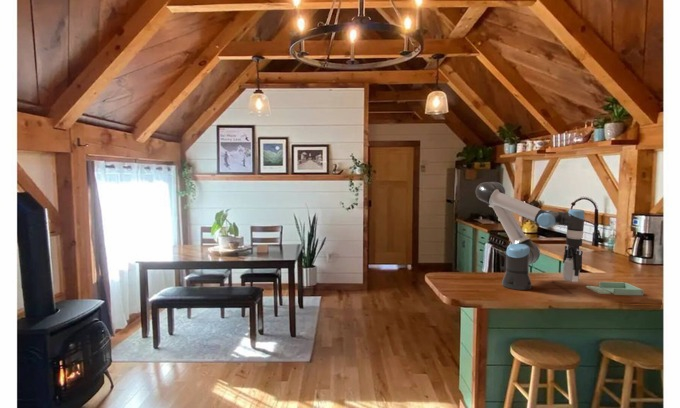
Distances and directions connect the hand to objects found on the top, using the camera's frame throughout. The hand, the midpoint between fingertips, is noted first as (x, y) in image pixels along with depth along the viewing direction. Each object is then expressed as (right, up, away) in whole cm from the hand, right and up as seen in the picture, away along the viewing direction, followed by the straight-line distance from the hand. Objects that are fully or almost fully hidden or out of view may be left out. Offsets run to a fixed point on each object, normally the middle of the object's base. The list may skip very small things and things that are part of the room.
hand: (570, 279), depth 209 cm
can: (0, -1, 0) cm, 1 cm away
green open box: (+25, -7, -2) cm, 26 cm away
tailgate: (+18, -6, -1) cm, 19 cm away
